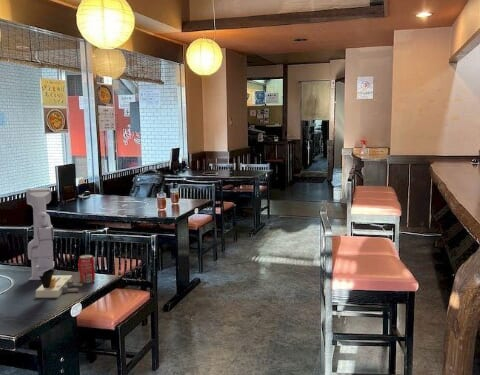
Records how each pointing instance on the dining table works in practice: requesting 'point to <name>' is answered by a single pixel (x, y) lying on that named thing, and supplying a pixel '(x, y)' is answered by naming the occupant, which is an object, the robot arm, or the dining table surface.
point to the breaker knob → (53, 282)
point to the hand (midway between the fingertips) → (46, 287)
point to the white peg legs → (71, 284)
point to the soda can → (86, 269)
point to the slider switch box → (57, 289)
